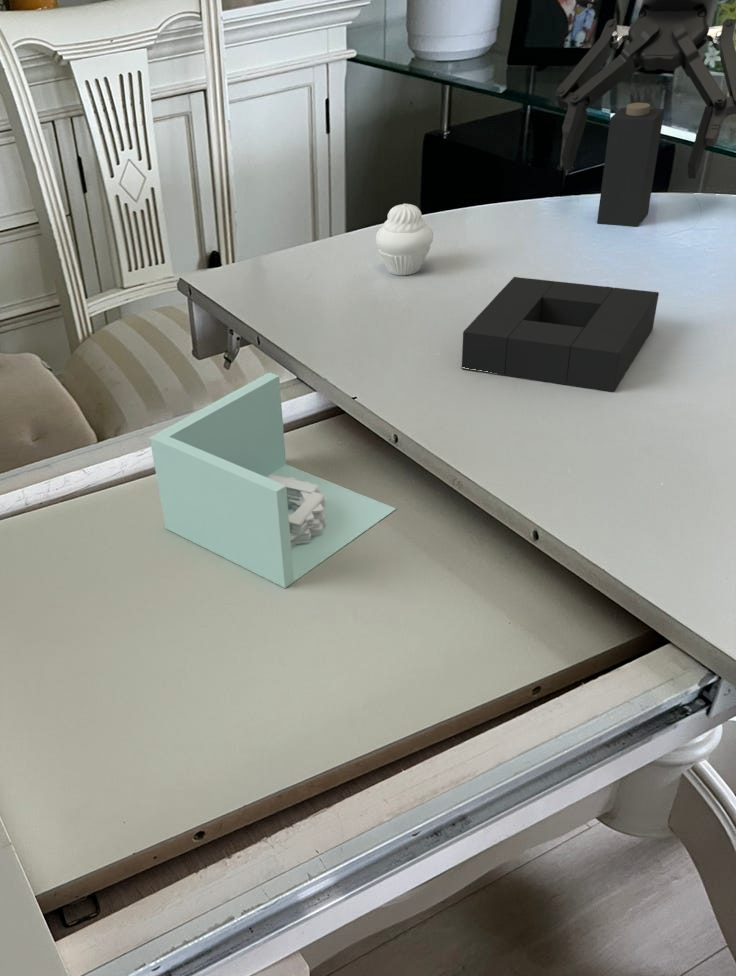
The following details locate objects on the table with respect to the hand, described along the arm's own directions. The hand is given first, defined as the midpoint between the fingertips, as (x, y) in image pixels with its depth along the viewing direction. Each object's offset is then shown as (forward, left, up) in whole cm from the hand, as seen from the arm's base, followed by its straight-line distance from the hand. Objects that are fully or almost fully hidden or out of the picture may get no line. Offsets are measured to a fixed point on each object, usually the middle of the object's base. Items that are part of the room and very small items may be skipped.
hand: (627, 168), depth 111 cm
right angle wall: (-44, +54, -6) cm, 70 cm away
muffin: (-2, +27, -6) cm, 28 cm away
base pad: (-27, +22, -6) cm, 36 cm away
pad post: (+1, -1, -6) cm, 6 cm away
